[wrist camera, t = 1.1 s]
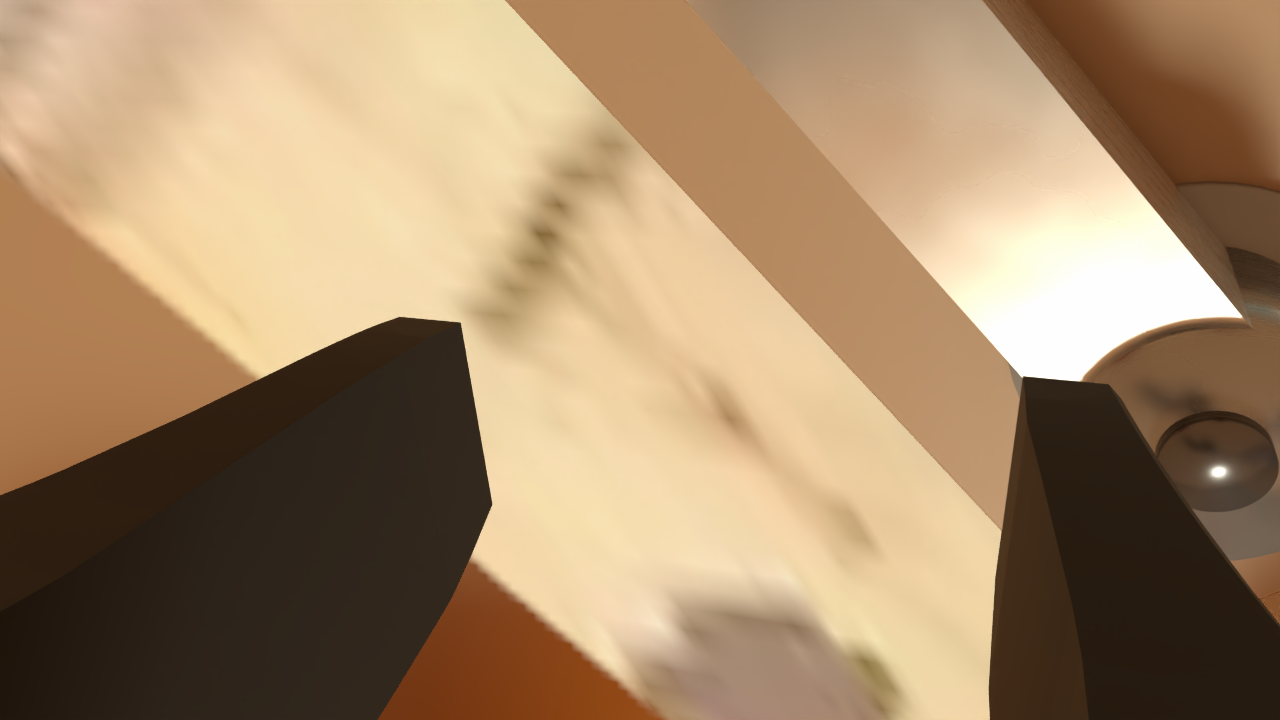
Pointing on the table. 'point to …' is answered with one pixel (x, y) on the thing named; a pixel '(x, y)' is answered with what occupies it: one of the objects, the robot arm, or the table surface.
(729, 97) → the door board
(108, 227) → the table surface
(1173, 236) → the lock bar
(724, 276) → the table surface
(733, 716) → the table surface
